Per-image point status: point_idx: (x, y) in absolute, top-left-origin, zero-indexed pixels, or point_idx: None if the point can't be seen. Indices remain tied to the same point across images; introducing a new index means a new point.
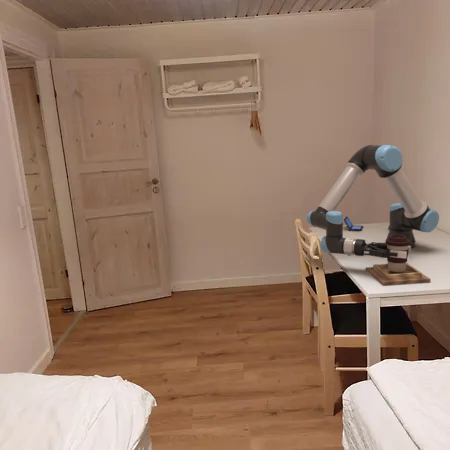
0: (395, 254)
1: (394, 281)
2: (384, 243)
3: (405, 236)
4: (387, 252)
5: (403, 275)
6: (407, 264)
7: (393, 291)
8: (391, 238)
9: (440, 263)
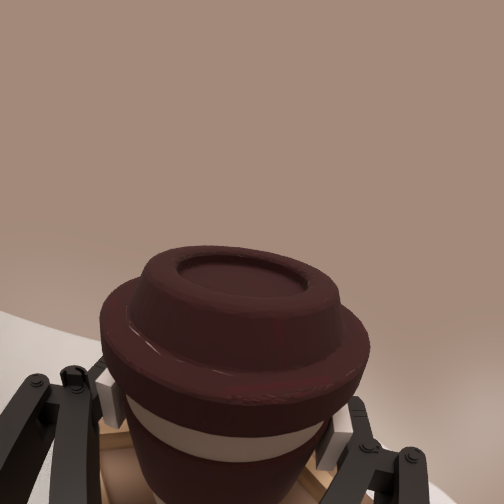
0: (360, 412)
1: (371, 499)
2: (12, 445)
3: (222, 246)
4: (377, 455)
5: (313, 463)
6: (120, 428)
7: (437, 489)
8: (325, 315)
9: (41, 334)
